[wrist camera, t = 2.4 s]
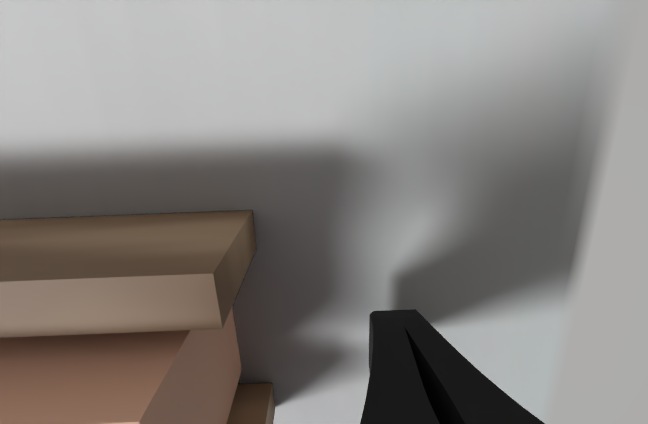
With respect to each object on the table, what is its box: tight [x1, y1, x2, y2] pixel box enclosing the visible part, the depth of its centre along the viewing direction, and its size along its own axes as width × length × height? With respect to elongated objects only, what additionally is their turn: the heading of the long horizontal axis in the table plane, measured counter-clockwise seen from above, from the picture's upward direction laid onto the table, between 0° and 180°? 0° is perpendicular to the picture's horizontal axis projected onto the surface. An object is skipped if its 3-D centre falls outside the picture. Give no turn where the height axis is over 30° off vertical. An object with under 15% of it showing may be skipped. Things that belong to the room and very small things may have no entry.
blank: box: [0, 308, 242, 424], centre depth 8 cm, size 4×6×5 cm, turn 92°
